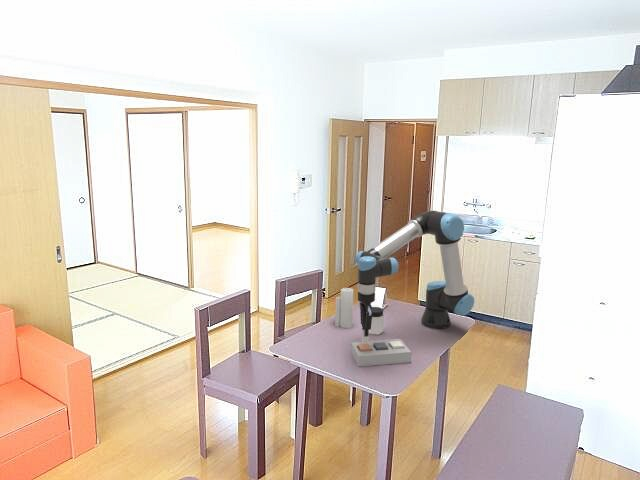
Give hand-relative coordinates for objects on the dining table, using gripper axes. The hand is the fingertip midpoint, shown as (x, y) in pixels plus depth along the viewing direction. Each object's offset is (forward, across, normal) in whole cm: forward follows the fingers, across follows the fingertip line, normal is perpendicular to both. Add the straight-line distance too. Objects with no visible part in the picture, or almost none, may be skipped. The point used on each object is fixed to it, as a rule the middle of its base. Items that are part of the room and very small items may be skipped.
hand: (365, 341), depth 212 cm
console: (+8, 0, +7) cm, 11 cm away
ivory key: (+4, 0, +15) cm, 15 cm away
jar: (+9, -28, +13) cm, 32 cm away
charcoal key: (+4, 0, +7) cm, 8 cm away
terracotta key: (+4, 0, 0) cm, 4 cm away
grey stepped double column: (+9, -40, -1) cm, 41 cm away
